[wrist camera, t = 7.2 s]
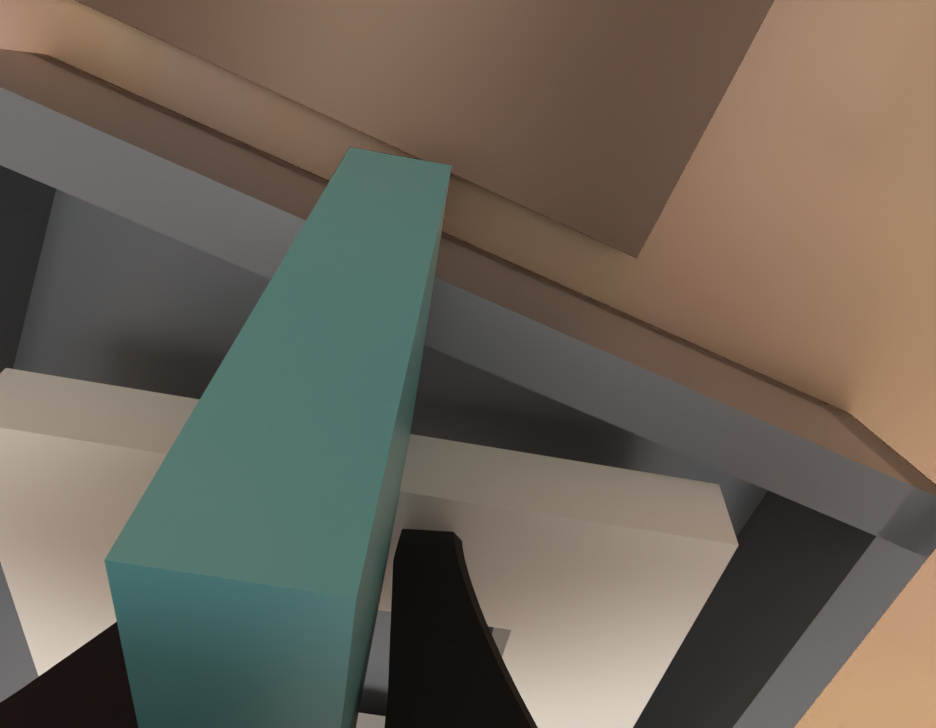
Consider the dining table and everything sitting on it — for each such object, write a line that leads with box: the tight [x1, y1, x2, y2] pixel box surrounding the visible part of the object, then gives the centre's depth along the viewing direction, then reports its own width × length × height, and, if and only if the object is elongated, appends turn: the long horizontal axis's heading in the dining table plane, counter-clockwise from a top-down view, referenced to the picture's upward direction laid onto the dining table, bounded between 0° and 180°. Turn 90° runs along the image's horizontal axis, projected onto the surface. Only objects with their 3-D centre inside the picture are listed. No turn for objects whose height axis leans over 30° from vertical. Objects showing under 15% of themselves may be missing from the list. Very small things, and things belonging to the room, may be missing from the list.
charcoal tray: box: [0, 49, 936, 728], centre depth 12 cm, size 14×17×3 cm
